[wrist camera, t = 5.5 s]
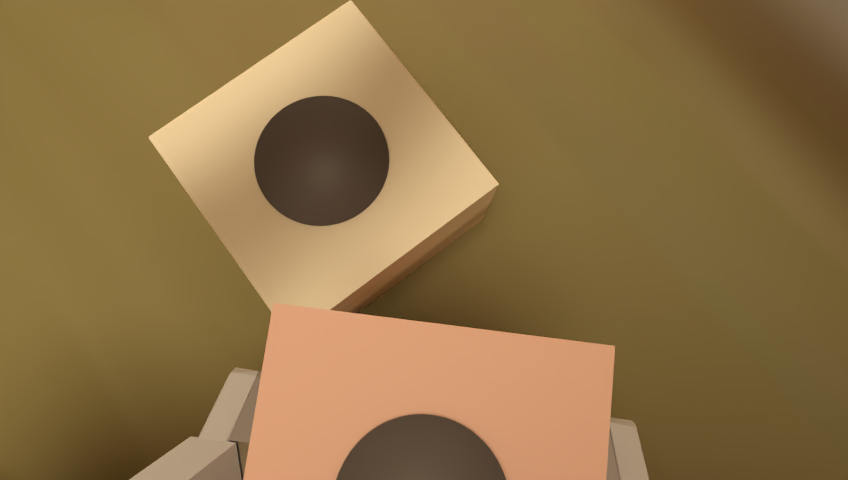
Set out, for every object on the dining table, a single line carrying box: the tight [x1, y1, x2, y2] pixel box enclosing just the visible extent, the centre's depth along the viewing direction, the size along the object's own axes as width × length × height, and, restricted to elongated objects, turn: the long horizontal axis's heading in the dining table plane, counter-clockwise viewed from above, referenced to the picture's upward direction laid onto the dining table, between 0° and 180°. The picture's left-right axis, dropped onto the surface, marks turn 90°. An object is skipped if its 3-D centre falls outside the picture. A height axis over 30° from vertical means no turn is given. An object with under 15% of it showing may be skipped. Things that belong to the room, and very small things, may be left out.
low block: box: [149, 0, 499, 313], centre depth 16 cm, size 6×6×4 cm
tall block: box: [243, 303, 615, 480], centre depth 12 cm, size 4×4×9 cm
